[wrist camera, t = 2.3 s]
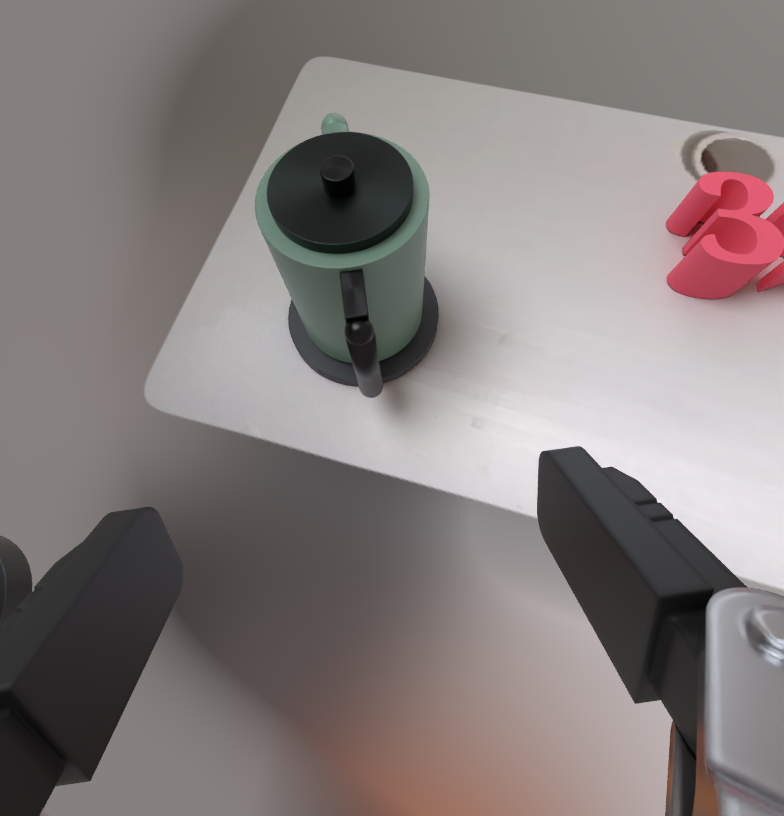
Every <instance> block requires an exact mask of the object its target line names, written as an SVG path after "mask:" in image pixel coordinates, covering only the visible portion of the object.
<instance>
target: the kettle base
mask: <svg viewBox="0 0 784 816" xmlns="http://www.w3.org/2000/svg"><path fill="white" fill-rule="evenodd" d="M288 320H289V330H290V334H291V337H292V340H293V342H294V344H295V346H296V348H297V350H298V352H299V354H300V355H301V357H302V358H303V359H304V361H305V362H306V363H307V364H308V365H309V366H310V367H311V368H312V369H313V370H315V371H316V372H317V373H319V374H320V375H322V376H324V377H326V378H327V379H330V380H332V381H335V382H338V383H342V384H346V385H353V386H359V384H358V381H357V377H356V374H355V370H354V367H353V363H347V362H343V361H340V360H337V359H334V358H332V357H330V356H328V355H327V354H325V353H324V352H322V351H321V350H320V349H319V348H318V347H317V346H316V345H315V344H314V343H313V342H312V340H311V339H310V337H309V335H308V333H307V331H306V329H305V327H304V325H303V322H302V320H301V318H300V316H299V314H298V311H297V309H296V307H295V305H294V303H293V300H291V304H290V308H289V316H288ZM437 323H438V304H437V299H436V296H435V293H434V290H433V288H432V286H431V284H430V283H429V281H428V280H427V278H426V277H425V276H424V291H423V307H422V318H421V322H420V325H419V328H418V330H417V332H416V334H415V336H414V337H413V338H412V340H411V341H410V342H409V343H408V344H407V345H406V346H405V347H404V348H403V349H402V350H400V351H399V352H398V353H396V354H394V355H393V356H391V357H389V358H386V359H384V360H381V361H379V364H380V371H381V377H382V383H385V382H388V381H391V380H393V379H396V378H398V377H400V376H402V375H404V374H405V373H407V372H408V371H409V370H411V369H412V368H413V367H415V366H416V365H417V364H418V363H419V362H420V361H421V360H422V358H423V357H424V356H425V355H426V353H427V352H428V350H429V349H430V347H431V345H432V343H433V340H434V338H435V334H436V330H437Z"/></svg>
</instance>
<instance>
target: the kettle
mask: <svg viewBox="0 0 784 816" xmlns="http://www.w3.org/2000/svg"><path fill="white" fill-rule="evenodd" d="M321 130H322V135H320V136H316V137H313V138H311V139H308V140H306V141H304V142H302V143H300V144H298V145H296V146H294V147H293V148H291V149H290V150H288V151H286V152H285V153H284V154H283V155H281V156H280V157H279V158H278V159H277V160H276V161H275V162H274V163H273V164H272V165H271V166H270V167H269V169H268V170H267V171H266V173H265V174H264V176H263V178H262V179H261V181H260V184H259V186H258V189H257V193H256V198H255V213H256V219H257V222H258V225H259V228H260V230H261V232H262V234H263V236H264V239H265V241H266V243H267V245H268V247H269V250H270V252H271V254H272V256H273V258H274V261H275V263H276V265H277V267H278V269H279V272H280V274H281V276H282V278H283V280H284V283H285V285H286V287H287V289H288V291H289V294H290V296H291V298H292V300H293V303H294V305H295V307H296V309H297V311H298V314H299V316H300V318H301V320H302V322H303V325H304V327H305V329H306V331H307V333H308V335H309V337H310V339H311V340H312V342H313V343H314V344H315V345H316V346H317V347H318V348H319V349H320V350H321V351H322V352H324V353H325V354H327V355H328V356H330V357H332V358H334V359H337V360H340V361H343V362H347V363H353V367H354V370H355V374H356V377H357V381H358V384H359V388H360V391H361V392H362V394H363V395H364V396H366V397H369V398H373V397H376V396H378V395H379V394H380V393H381V391H382V388H383V384H382V377H381V371H380V364H379V361H381V360H384V359H386V358H389V357H391V356H393V355H394V354H396V353H398V352H399V351H400V350H402V349H403V348H404V347H405V346H406V345H407V344H408V343H409V342H410V341H411V340H412V338H413V337H414V336H415V334H416V332H417V330H418V328H419V325H420V322H421V318H422V307H423V291H424V275H425V259H426V243H427V227H428V210H429V187H428V182H427V179H426V176H425V174H424V172H423V170H422V168H421V166H420V165H419V164H418V162H417V161H416V160H415V159H414V158H413V157H412V156H411V154H409V153H408V152H407V151H406V150H404V149H403V148H402V147H400V146H398V145H397V144H395V143H393V142H391V141H389V140H386V139H384V138H381V137H378V136H374V135H369V134H363V133H356V132H349V129H348V124H347V122H346V120H345V119H344V117H343V116H341V115H340V114H338V113H330V114H328V115H327V116H326V117H325V118H324V119H323V122H322V126H321Z"/></svg>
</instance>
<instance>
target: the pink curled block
mask: <svg viewBox="0 0 784 816" xmlns="http://www.w3.org/2000/svg"><path fill="white" fill-rule="evenodd" d="M772 202H773V192H772V190H771V188H770V187H769V186H768V185H767V184H766V183H765V182H763V181H762V180H760V179H758V178H756V177H753V176H750V175H746V174H741V173H735V172H712V173H708V174H705V175H703V176H702V177H701V178H700V179H699V181H698V182H697V183H696V184H695V186H694V187H693V188H692V189H691V191H690V192H689V193H688V195H687V196H686V197H685V198H684V200H683V201H682V202H681V204H680V205H679V206H678V207H677V209H676V210H675V211H674V212H673V214H672V215H671V216H670V218H669V219H668V220H667V223H666V226H667V229H668V230H669V231H670V232H672V233H674V234H676V235H680V236H686V235H687V234H688V233H689V232H690V230H691V229H692V228H693V227H694V226H695V225H696V224H697V223H698V221H700V222H702V223H704V225H703V226H702V227H701V228H700V229H699V230H698V231H697V232H696V233H695V235H694V236H693V237H692V238H691V239H690V240H689V241H688V242H687V243H686V245H685V246H684V247H683V248H682V249H683V255H686V256H685V257H684V259H683V260H682V261H681V262H680V263H679V264H678V265H677V266H676V267H675V268H674V269H673V270H672V271H671V272H670V273H669V275H668V276H667V283H668V285H669V286H670V287H671V288H672V289H673V290H675V291H677V292H679V293H681V294H684V295H687V296H691V297H696V298H703V299H720V298H725V297H728V296H730V295H732V294H733V293H735V292H736V291H737V290H738V289H740V288H741V287H742V286H743V285H745V284H746V283H747V282H748V281H750V280H751V279H752V278H753V277H755V276H756V275H757V274H758V273H760V272H761V271H762V270H763V269H765V268H766V267H767V266H768V265H770V264H771V263H772V262H774V261H775V260H776V259H777V258H778V257H780V256H782V257H784V203H783V204H782V205H781V206H779V207H778V208H777V209H776V210H775V211H774V212H773V213H772V214H771V215H770V216H769V217H768V218H767V219H762V218H760V217H759V216H760V215H761V214H763V213H764V212H765V211H766V210H767V209H768V208H769V207H770V206H771V204H772ZM781 284H784V262H782V263H781V264H780V265H778V266H777V267H776V268H775V269H773V270H772V271H771V272H769V273H768V274H767V275H766V276H764V277H763V278H762V279H760V280H759V281H758V282H757V287H758V292H759V291H762V290H765V289H769V288H772V287H775V286H778V285H781Z"/></svg>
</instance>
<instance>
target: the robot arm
mask: <svg viewBox="0 0 784 816" xmlns="http://www.w3.org/2000/svg"><path fill="white" fill-rule="evenodd" d="M537 516H538V522H539V526H540V530H541V533H542V536H543V538H544V540H545V542H546V544H547V546H548V548H549V550H550V552H551V553H552V555H553V557H554V559H555V560H556V562H557V564H558V566H559V568H560V570H561V571H562V573H563V575H564V577H565V578H566V580H567V582H568V584H569V586H570V588H571V589H572V591H573V593H574V594H575V596H576V598H577V600H578V602H579V604H580V606H581V607H582V609H583V611H584V613H585V614H586V616H587V618H588V620H589V622H590V623H591V625H592V627H593V629H594V631H595V632H596V634H597V636H598V638H599V640H600V641H601V643H602V645H603V647H604V648H605V650H606V652H607V654H608V656H609V658H610V659H611V661H612V663H613V665H614V667H615V668H616V670H617V672H618V674H619V676H620V677H621V679H622V681H623V683H624V685H625V686H626V688H627V690H628V692H629V694H630V695H631V697H632V699H633V701H634V703H635V704H636V703H643V702H649V701H657V700H661V701H662V703H663V704H664V706H665V708H666V709H667V711H668V713H669V714H670V716H671V717H672V719H673V722H672V726H671V734H670V748H669V764H668V765H669V766H668V780H667V797H666V813H665V816H784V596H781V595H778V594H775V593H772V592H768V591H764V590H760V589H754V588H748V587H747V586H745V585H744V584H743V583H742V582H741V581H740V580H739V579H738V578H737V577H736V576H735V575H734V574H733V573H732V572H731V571H730V570H729V569H728V568H727V567H726V566H725V565H724V564H723V563H722V562H721V561H720V560H719V559H718V558H717V557H716V556H715V555H714V554H713V553H712V552H710V551H709V550H708V549H707V548H706V547H705V546H704V545H703V544H702V543H701V542H700V541H699V540H698V539H697V538H696V537H695V536H694V535H693V534H692V533H691V532H690V531H689V530H688V529H687V528H686V527H685V526H684V525H683V524H682V523H681V522H680V521H679V520H678V519H674V518H673V514H671V513H670V512H669V511H668V510H667V509H666V508H665V507H664V506H663V505H662V504H661V503H657V500H656V498H655V497H654V496H653V495H652V494H651V493H650V492H649V491H648V490H647V489H646V488H645V487H644V486H643V485H642V484H641V483H640V482H639V481H638V480H636V479H634V478H632V477H630V476H628V475H626V474H624V473H623V472H621V471H619V470H617V469H615V468H613V467H606V468H601V467H600V465H599V464H598V463H597V462H596V461H595V460H594V459H593V458H592V457H591V456H590V455H589V454H588V453H587V452H586V451H585V450H584V449H583V448H582V447H579V446H577V447H570V448H563V449H556V450H549V451H543V452H541V454H540V457H539V468H538V498H537ZM182 583H183V566H182V562H181V560H180V558H179V555H178V553H177V551H176V549H175V547H174V545H173V542H172V540H171V538H170V536H169V534H168V532H167V530H166V527H165V525H164V523H163V521H162V519H161V517H160V515H159V513H158V512H157V511H156V510H155V509H154V508H152V507H144V508H137V509H131V510H124V511H118V512H117V511H116V512H111V513H109V514H107V515H106V516H105V517H104V518H103V519H102V520H101V521H100V523H99V524H98V525H97V526H96V527H95V528H94V529H93V531H92V532H91V533H90V535H88V537H87V538H86V539H85V540H84V541H83V542H82V543H81V544H79V545H78V546H77V547H75V548H74V549H73V550H72V551H70V552H69V553H68V554H66V555H65V556H64V557H62V558H61V559H60V560H59V561H57V562H56V563H55V564H54V565H53V566H52V568H51V569H50V570H49V571H48V572H47V573H46V574H45V575H44V577H43V578H42V579H41V580H40V581H39V582H38V583H37V585H36V586H35V587H34V588H35V590H34V592H30V593H29V594H28V595H27V596H26V597H25V598H24V600H23V601H22V602H21V603H20V604H19V605H18V606H17V608H16V609H17V611H16V613H11V614H10V616H9V617H8V618H7V619H6V620H5V621H4V623H3V624H2V625H1V626H0V816H50V814H49V813H48V811H47V810H46V809H45V808H44V806H45V804H46V802H47V800H48V799H49V796H50V795H51V793H52V791H53V789H54V787H55V786H59V785H67V784H74V783H80V782H87V781H91V778H92V776H93V774H94V772H95V770H96V768H97V766H98V764H99V761H100V759H101V757H102V755H103V753H104V751H105V749H106V747H107V745H108V743H109V741H110V738H111V736H112V734H113V732H114V730H115V728H116V726H117V724H118V722H119V719H120V717H121V715H122V713H123V711H124V709H125V707H126V705H127V703H128V701H129V698H130V697H131V694H132V692H133V690H134V688H135V686H136V684H137V682H138V679H139V678H140V675H141V673H142V671H143V669H144V667H145V665H146V663H147V661H148V659H149V656H150V654H151V652H152V650H153V648H154V646H155V644H156V642H157V640H158V638H159V636H160V633H161V631H162V629H163V627H164V625H165V623H166V620H167V618H168V616H169V615H170V612H171V610H172V608H173V606H174V604H175V602H176V600H177V598H178V596H179V593H180V591H181V588H182Z"/></svg>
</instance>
